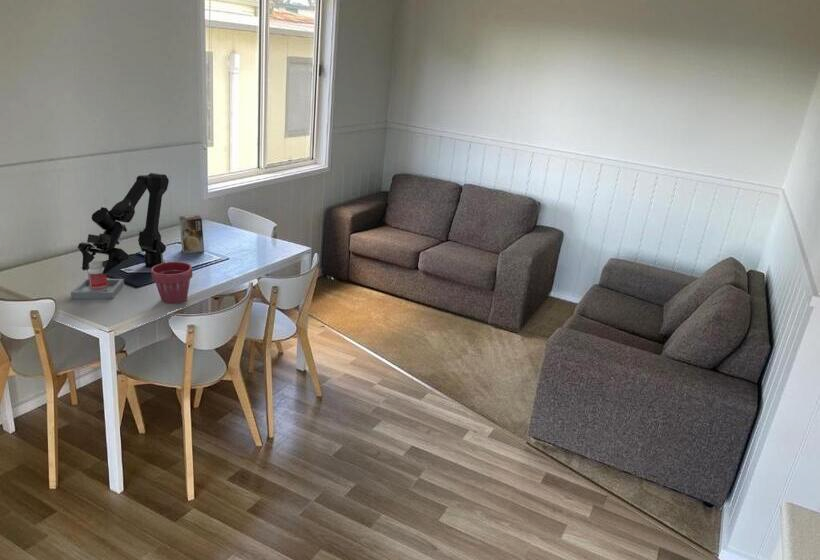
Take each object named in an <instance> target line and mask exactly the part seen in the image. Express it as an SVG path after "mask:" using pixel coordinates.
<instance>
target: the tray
mask: <svg viewBox="0 0 820 560" xmlns="http://www.w3.org/2000/svg"><path fill="white" fill-rule="evenodd" d="M107 286H108V289H107V290H106V291H104V292H98V291H90V287H89V279H88V278H84V279H82V280H81V281H80V283H78V285H77V286H76V287H75V288H74V289H73V290H71V292H70V296H71V299H74V300H75V299H76V300H114V299H115V297H116V296H117V295H118V294H119V292H120V291H121V290H122V288H124V286H125V279H124V278H107Z"/></svg>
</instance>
